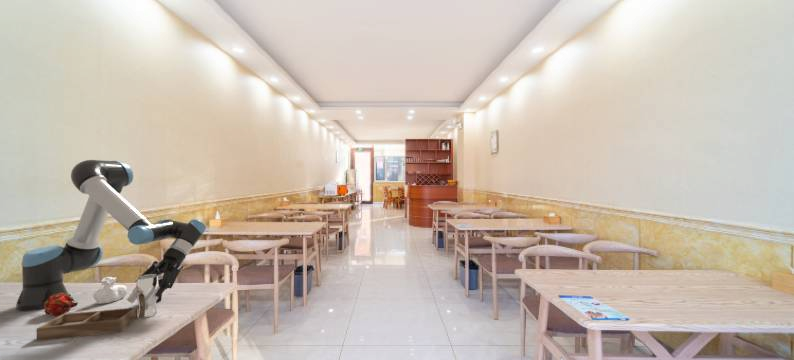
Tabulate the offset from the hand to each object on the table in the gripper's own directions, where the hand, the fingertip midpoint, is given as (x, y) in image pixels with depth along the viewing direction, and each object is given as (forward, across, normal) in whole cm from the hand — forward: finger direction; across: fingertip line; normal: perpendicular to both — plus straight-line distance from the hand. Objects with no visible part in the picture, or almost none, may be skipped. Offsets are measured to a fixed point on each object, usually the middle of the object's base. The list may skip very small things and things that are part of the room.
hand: (139, 302), depth 125 cm
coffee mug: (-7, +12, -15) cm, 21 cm away
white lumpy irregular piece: (-2, +31, -11) cm, 33 cm away
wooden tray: (+12, +8, +4) cm, 15 cm away
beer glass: (+2, 0, -6) cm, 7 cm away
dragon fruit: (+8, +35, 0) cm, 36 cm away
